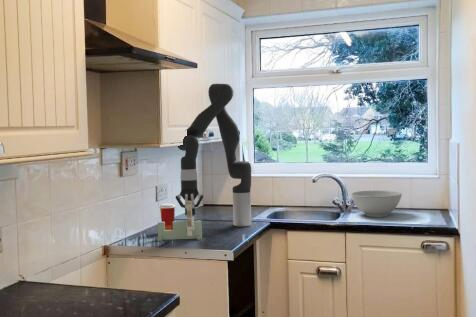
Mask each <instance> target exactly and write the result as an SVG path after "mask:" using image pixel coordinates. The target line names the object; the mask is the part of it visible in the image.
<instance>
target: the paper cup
mask: <svg viewBox="0 0 476 317" xmlns="http://www.w3.org/2000/svg"><path fill="white" fill-rule="evenodd" d="M159 209H160V220H161V221H160V222H165V230H173V221H175V220H176V218H175V216H176V215H175V214H176V212H175V210H176V205H175V203H170V202H169V203H161V204H160V205H159Z"/></svg>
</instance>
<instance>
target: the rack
mask: <svg viewBox="0 0 476 317" xmlns="http://www.w3.org/2000/svg"><path fill="white" fill-rule="evenodd" d="M202 228H203V227H202V220H194V229H193V234H192V236H187V220H177V221H176V220H174V221H173V230H165V222H162V221H157V238H156V239H157V242H163V240H164V241H165V240H166V241H167V240H168V241H169V240H188V239H189V240H191V239H192V240H193V239H194V240H195V239H196V240H197V241H202V237H203V232H202Z"/></svg>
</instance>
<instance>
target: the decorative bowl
mask: <svg viewBox="0 0 476 317" xmlns="http://www.w3.org/2000/svg"><path fill="white" fill-rule="evenodd" d="M402 195H403V194H402V193H401V192H399V191H395V190H394V191H392V190H358V191H353V192H352V193H351V197H352V201H353V202H354V205H355V207H357V209H358V210H360V211H361V212H362V213H364V215H365V217H370V218H382V217H383V218H384V217H387V216H389V213H390V214H391V213H392V211H394V210H396V208H397V206H398V205H399V203H400V201H401V198H402Z"/></svg>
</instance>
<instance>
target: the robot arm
mask: <svg viewBox="0 0 476 317" xmlns="http://www.w3.org/2000/svg"><path fill="white" fill-rule="evenodd" d="M208 98H209V101H210V105H209V106H208V107H206V108H204V110H202V111H201V112H200V113H199V114H198V115H197V116H195V119H194V120H193V121H192V123H191V124H190V126H189V127H187V128H186V130H187V136H185V137H184V139H183V145H180V146H177V148H178V149H179V150H180V151H183V152H185V154H184V155H183V156H182V157H181V158H180V192H179V194H178V195H175V198H174V199H176V201H177V203H178V204H179V206H180V207H181V208H183V209H184V215H185V216H187V207H186V202H187V201H188V200H192V216H194V217H195V215H196V208H198V207H199V205H200V204H201V203H202V200H203V198H204V194H201V193H199V190H198V171H197V158H198V157H197V156H198V153H199V147H200V146H199V144H200V143H199V140H198V138H199V137H202V136H203V134H205V132H206V130H207V129H208V127H209V126H210V125H211V123H212V122H213V121H214V119H216V122H217V126H218V128H219V130H218V131H219V133H220V137H221V141H222V144H223V147H224V153H225V159H226V163H227V170H228V175H229V177H231V179H234V180H236V179H237V180H240V183H238V184H237V185H235V186H232V212H233V214H232V215H233V217H232V218H233V219H232V220H233V226H235V227H250V226H251V225H252V198H251V197H252V196H251V195H252V194H251V189H252V188H251V187H252V166H251V163H250V161H246V160H241V161H240V160H237V156H236V152H237V151H236V150H237V148H238V145H239V142H240V138H241V137H240V130H239V127H238V124H237V122H236V121H235V119H234V118H233V117H232V115H231V114H230V112H228V110H227V108H226V106H227V105H228V104H229V103H230V102H231V101H232V99H233V98H234V89H233V87H232V85H230V84H228V83H212V84H211V85H210V86H209V87H208ZM197 197H198V200H197V202H196V203H195V200H196V198H197ZM182 199H183V200H184V203H183V201H182Z"/></svg>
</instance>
